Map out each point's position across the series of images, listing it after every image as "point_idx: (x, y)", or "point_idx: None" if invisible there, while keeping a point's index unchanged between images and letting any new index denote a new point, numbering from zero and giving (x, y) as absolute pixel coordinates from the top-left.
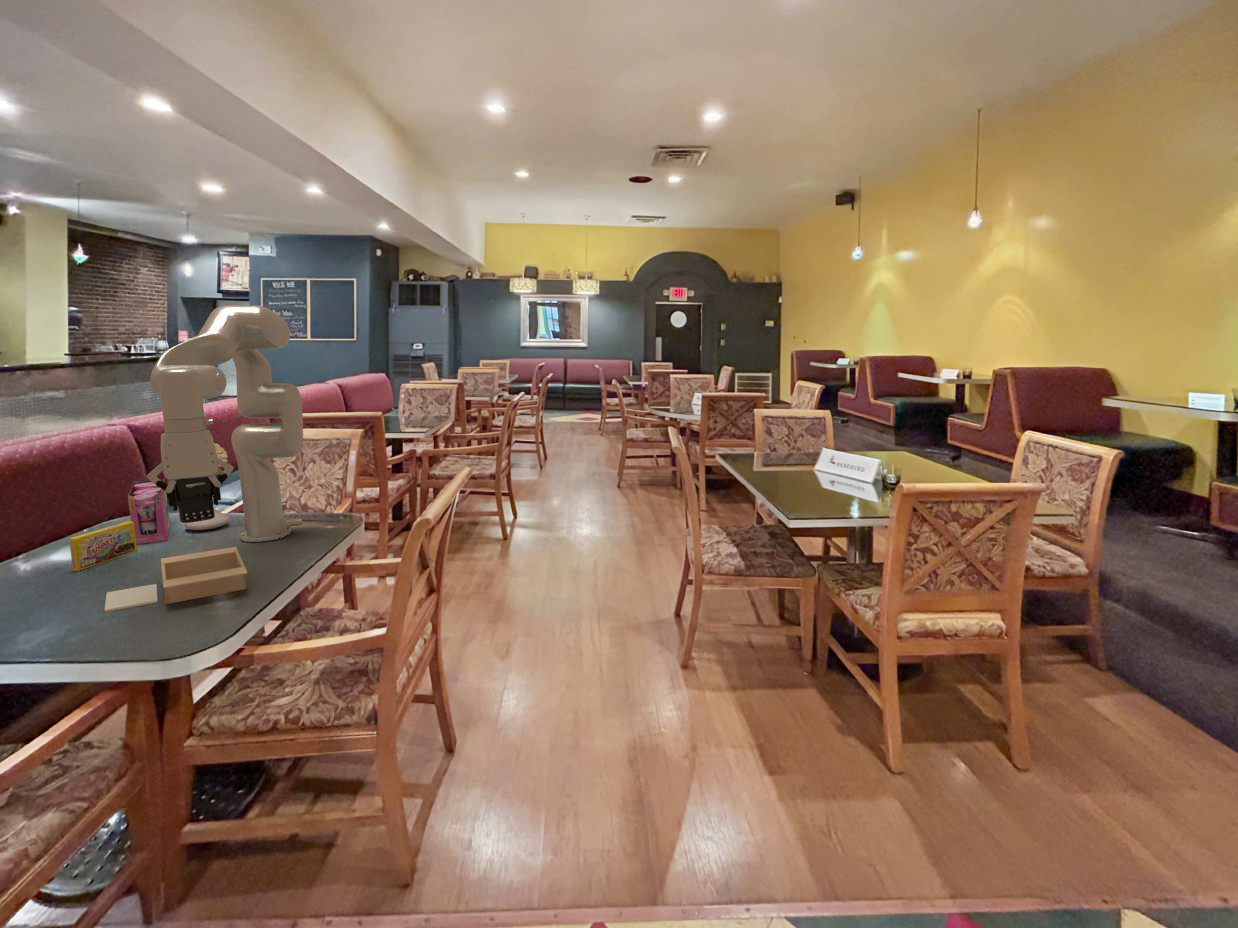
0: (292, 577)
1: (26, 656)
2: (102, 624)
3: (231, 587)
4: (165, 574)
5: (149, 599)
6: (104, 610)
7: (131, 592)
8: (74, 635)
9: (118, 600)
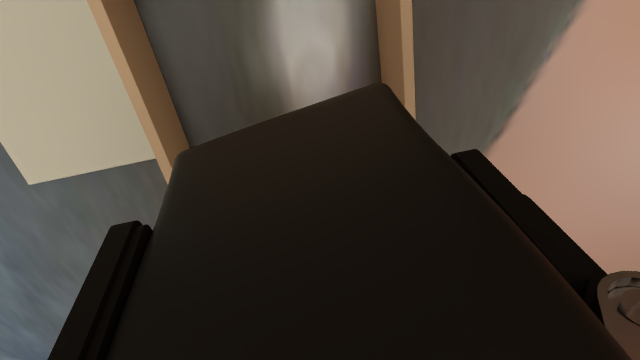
0: (518, 78)
1: (13, 355)
2: (80, 255)
3: None
4: (162, 147)
5: (131, 141)
6: (29, 184)
7: (23, 40)
8: (48, 294)
9: (23, 114)
